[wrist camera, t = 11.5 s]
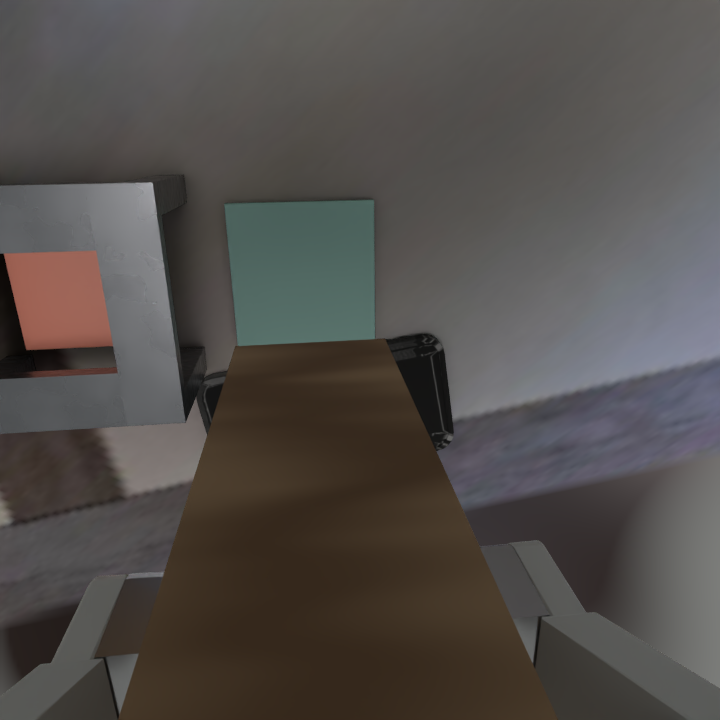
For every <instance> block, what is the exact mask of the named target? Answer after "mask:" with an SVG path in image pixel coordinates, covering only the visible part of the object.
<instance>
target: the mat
mask: <svg viewBox="0 0 720 720" xmlns="http://www.w3.org/2000/svg"><path fill="white" fill-rule="evenodd" d="M224 207H225V217H226V227H227V238H228V248H229V259H230V269H231V279H232V290H233V300H234V311H235V321H236V331H237V342H238V346H249V345H269V344H288V343H308V342H328V341H347V340H367V339H375V268H374V200H373V199H371V200H332V201H292V202H252V203H225V204H224Z"/></svg>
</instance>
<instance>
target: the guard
mask: <svg viewBox="0 0 720 720" xmlns="http://www.w3.org/2000/svg"><path fill="white" fill-rule="evenodd" d="M185 203H187V197H186V189H185V180H184V175H155V176H150V177H145V178H141V179H136V180H131V181H126V182H105V183H59V184H12V185H0V254H6V253H37V252H68V251H96V253H97V258H98V264H99V270H100V275H101V281H102V286H103V292H104V298H105V303H106V309H107V315H108V320H109V326H110V331H111V337H112V343H113V348H114V354H115V359H116V365H117V367H113V368H93V369H74V370H54V371H36V369H35V365H34V361H33V356H32V355H29V356H8V357H5V358H4V359H2V360H1V361H0V434H3V433H20V432H37V431H53V430H70V429H87V428H103V427H120V426H137V425H154V424H170V423H186V420H187V418H188V415H189V413H190V410H191V408H192V405H193V403H194V400H195V398H196V395H197V393H198V390H199V388H200V385H201V383H202V380H203V378H204V375H205V373H206V370H207V366H206V358H205V349H204V347H196V348H180V349H179V341H178V334H177V326H176V319H175V312H174V304H173V297H172V289H171V282H170V274H169V267H168V260H167V252H166V245H165V237H164V230H163V222H162V215H163V214H165V213H167V212H169V211H171V210H173V209H175V208H177V207H179V206H181V205H183V204H185Z"/></svg>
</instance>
